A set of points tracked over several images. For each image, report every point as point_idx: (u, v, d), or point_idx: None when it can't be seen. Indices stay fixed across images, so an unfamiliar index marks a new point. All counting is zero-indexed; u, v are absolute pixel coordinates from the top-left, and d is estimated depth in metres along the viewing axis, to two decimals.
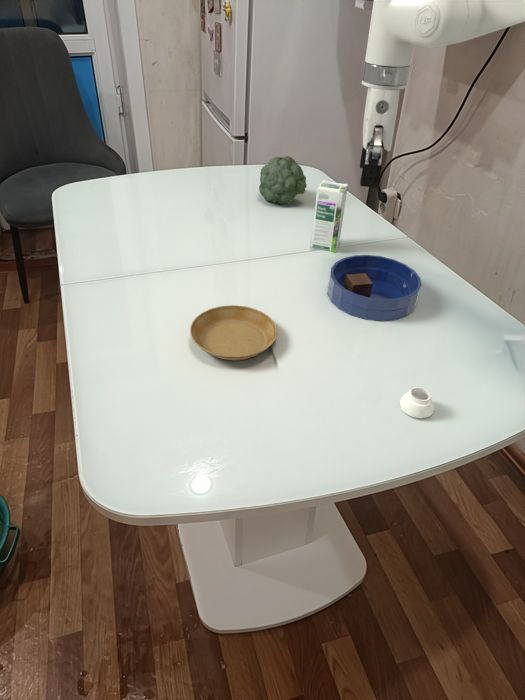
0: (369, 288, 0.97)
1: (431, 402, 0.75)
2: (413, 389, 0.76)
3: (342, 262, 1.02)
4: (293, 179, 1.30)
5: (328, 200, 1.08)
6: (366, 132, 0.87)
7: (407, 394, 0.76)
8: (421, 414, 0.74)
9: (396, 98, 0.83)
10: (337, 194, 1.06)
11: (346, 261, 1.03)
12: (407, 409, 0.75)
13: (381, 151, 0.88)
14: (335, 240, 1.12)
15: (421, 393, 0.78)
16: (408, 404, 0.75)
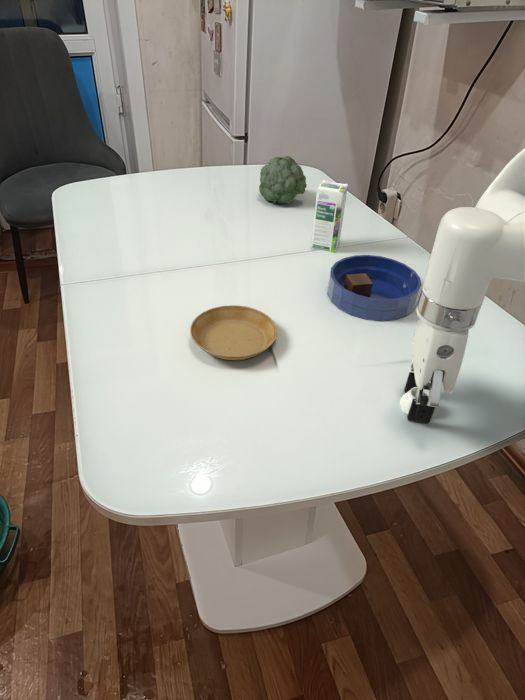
0: (369, 288, 0.97)
1: None
2: (413, 389, 0.76)
3: (342, 262, 1.02)
4: (293, 179, 1.30)
5: (328, 200, 1.08)
6: (422, 374, 0.67)
7: (407, 394, 0.76)
8: None
9: (464, 343, 0.64)
10: (337, 194, 1.06)
11: (346, 261, 1.03)
12: (407, 409, 0.75)
13: None
14: (335, 240, 1.12)
15: None
16: (408, 404, 0.75)
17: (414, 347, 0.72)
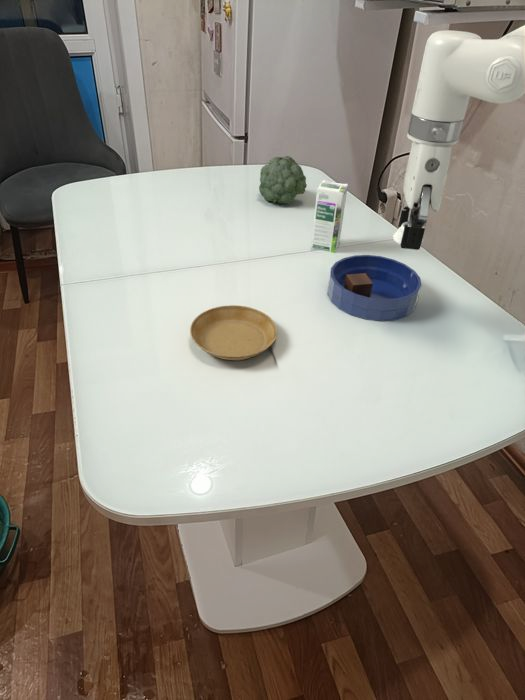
0: (369, 288, 0.97)
1: None
2: (405, 223, 0.87)
3: (342, 262, 1.02)
4: (293, 179, 1.30)
5: (328, 200, 1.08)
6: (412, 191, 0.78)
7: (399, 228, 0.87)
8: None
9: (448, 155, 0.74)
10: (337, 194, 1.06)
11: (346, 261, 1.03)
12: (400, 239, 0.86)
13: None
14: (335, 240, 1.12)
15: None
16: (401, 235, 0.85)
17: (405, 178, 0.82)
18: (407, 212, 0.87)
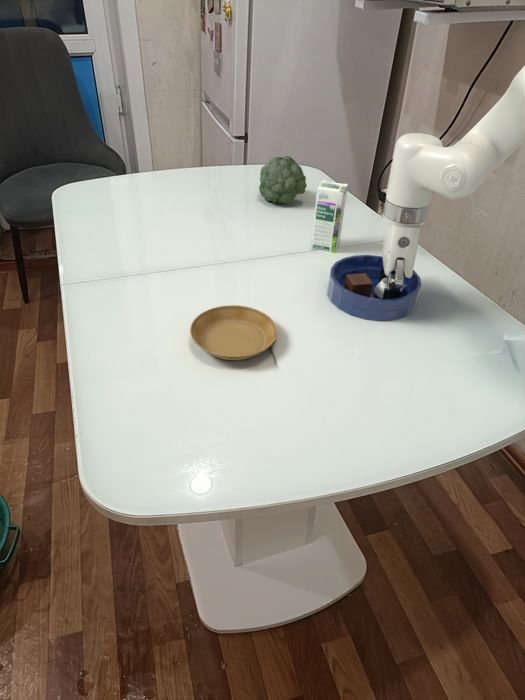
0: (369, 288, 0.97)
1: None
2: (384, 279, 1.00)
3: (342, 262, 1.02)
4: (293, 179, 1.30)
5: (328, 200, 1.08)
6: (388, 262, 0.91)
7: (379, 283, 1.00)
8: None
9: (417, 234, 0.87)
10: (337, 194, 1.06)
11: (346, 261, 1.03)
12: (379, 293, 0.99)
13: None
14: (335, 240, 1.12)
15: None
16: (380, 290, 0.99)
17: (383, 248, 0.96)
18: None
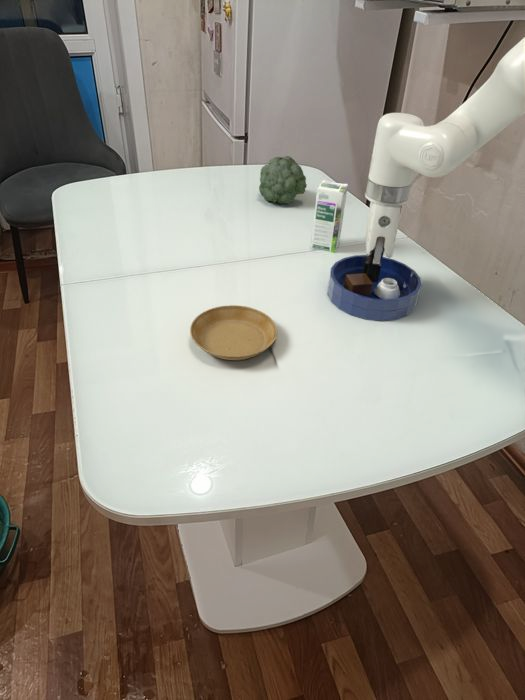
0: (369, 288, 0.97)
1: (397, 288, 0.99)
2: (384, 279, 1.00)
3: (342, 262, 1.02)
4: (293, 179, 1.30)
5: (328, 200, 1.08)
6: (369, 241, 0.92)
7: (379, 283, 1.00)
8: (390, 296, 0.99)
9: (397, 214, 0.89)
10: (337, 194, 1.06)
11: (346, 261, 1.03)
12: (379, 293, 0.99)
13: (381, 257, 0.96)
14: (335, 240, 1.12)
15: (391, 284, 1.02)
16: (380, 290, 0.99)
17: (366, 228, 0.97)
18: None
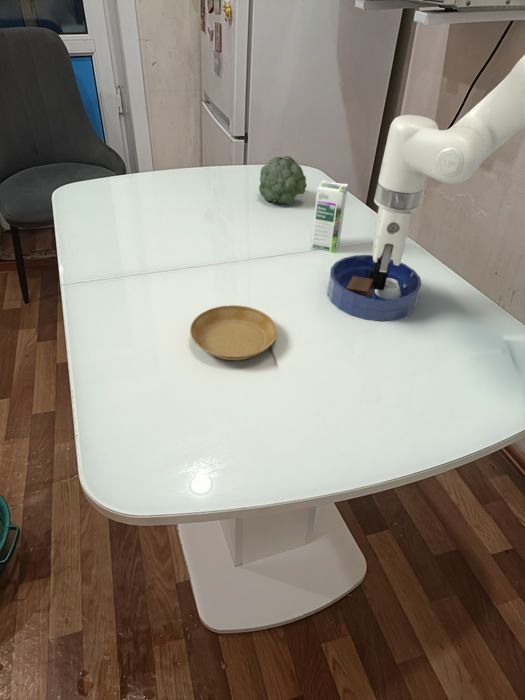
0: (364, 295, 0.94)
1: (398, 288, 0.99)
2: None
3: (342, 262, 1.02)
4: (293, 179, 1.30)
5: (328, 200, 1.08)
6: (376, 248, 0.88)
7: None
8: (391, 296, 0.98)
9: (407, 221, 0.85)
10: (337, 194, 1.06)
11: (346, 261, 1.03)
12: (380, 293, 0.99)
13: (388, 264, 0.93)
14: (335, 240, 1.12)
15: (392, 284, 1.02)
16: (381, 290, 0.99)
17: None
18: None
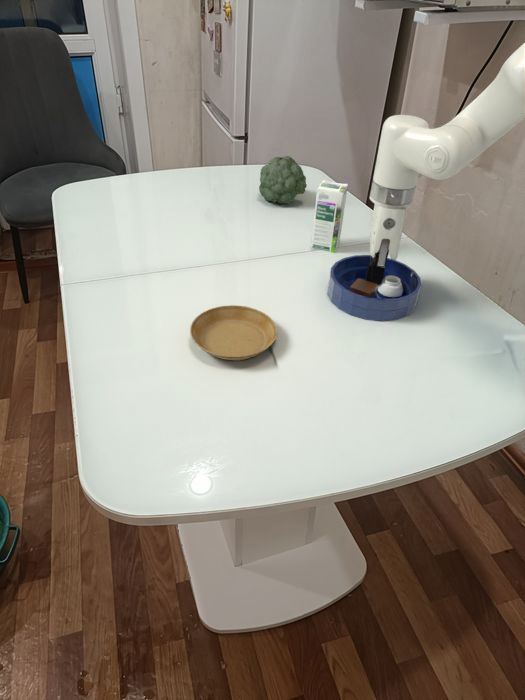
0: None
1: (401, 285, 1.00)
2: (387, 277, 1.01)
3: (342, 262, 1.02)
4: (293, 179, 1.30)
5: (328, 200, 1.08)
6: (374, 244, 0.92)
7: (383, 280, 1.01)
8: (393, 294, 0.99)
9: (402, 216, 0.88)
10: (337, 194, 1.06)
11: (346, 261, 1.03)
12: (383, 291, 1.00)
13: (385, 259, 0.96)
14: (335, 240, 1.12)
15: (394, 281, 1.02)
16: (384, 287, 1.00)
17: (370, 230, 0.97)
18: None
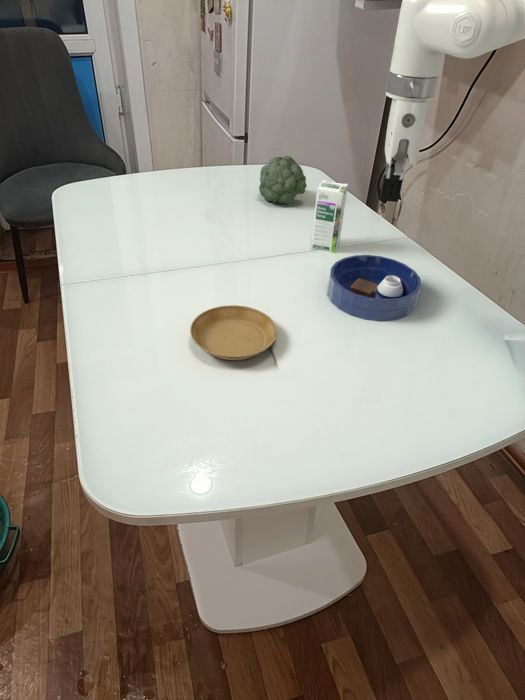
0: None
1: (401, 285, 1.00)
2: (387, 277, 1.01)
3: (342, 262, 1.02)
4: (293, 179, 1.30)
5: (328, 200, 1.08)
6: (390, 147, 0.82)
7: (383, 280, 1.01)
8: (393, 294, 0.99)
9: (423, 111, 0.78)
10: (337, 194, 1.06)
11: (346, 261, 1.03)
12: (383, 291, 1.00)
13: (403, 169, 0.86)
14: (335, 240, 1.12)
15: (394, 281, 1.02)
16: (384, 287, 1.00)
17: None
18: None
